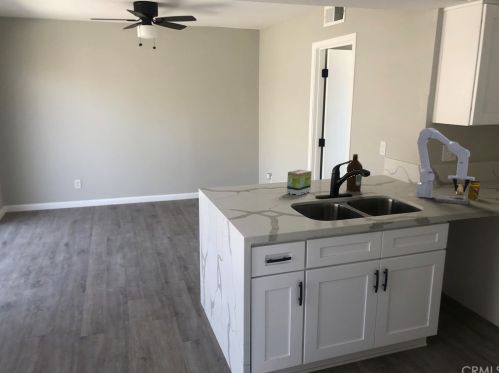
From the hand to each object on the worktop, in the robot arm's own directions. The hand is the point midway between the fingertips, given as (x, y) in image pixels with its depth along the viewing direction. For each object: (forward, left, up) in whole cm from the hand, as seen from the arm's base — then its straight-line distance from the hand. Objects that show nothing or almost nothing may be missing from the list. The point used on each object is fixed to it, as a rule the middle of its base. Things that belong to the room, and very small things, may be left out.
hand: (459, 191), depth 260 cm
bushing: (0, 0, -2) cm, 2 cm away
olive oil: (-65, +7, -7) cm, 66 cm away
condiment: (+8, +13, -7) cm, 17 cm away
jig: (-4, 0, -7) cm, 8 cm away
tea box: (-97, -17, -7) cm, 99 cm away
